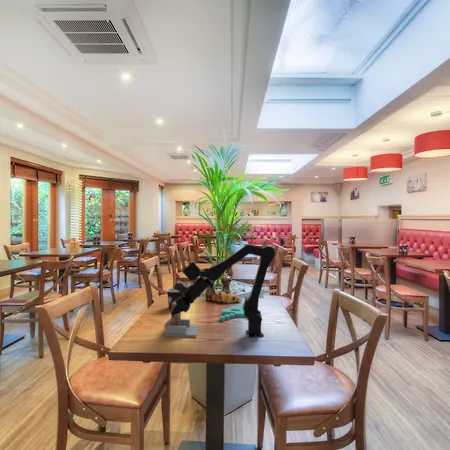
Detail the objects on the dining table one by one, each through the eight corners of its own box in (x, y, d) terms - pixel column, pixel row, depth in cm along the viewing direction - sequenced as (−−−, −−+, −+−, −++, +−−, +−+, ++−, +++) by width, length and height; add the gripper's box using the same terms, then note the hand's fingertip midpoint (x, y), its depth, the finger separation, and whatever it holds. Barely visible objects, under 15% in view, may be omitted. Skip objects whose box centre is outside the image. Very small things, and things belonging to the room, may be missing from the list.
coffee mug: (165, 306, 162) (165, 288, 161) (180, 304, 165) (180, 287, 165) (170, 312, 151) (170, 294, 151) (185, 310, 155) (186, 292, 154)
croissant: (242, 307, 174) (243, 294, 178) (240, 303, 165) (241, 290, 169) (208, 303, 179) (210, 291, 182) (205, 300, 170) (207, 286, 174)
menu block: (180, 325, 129) (180, 301, 128) (178, 329, 124) (178, 304, 123) (173, 325, 129) (174, 300, 129) (171, 329, 124) (171, 304, 124)
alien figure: (261, 324, 138) (260, 310, 158) (261, 319, 138) (260, 306, 158) (220, 321, 140) (224, 309, 160) (220, 317, 140) (224, 305, 160)
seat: (199, 327, 131) (200, 316, 131) (196, 337, 120) (196, 325, 120) (169, 326, 132) (169, 315, 132) (163, 336, 121) (163, 324, 121)
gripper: (189, 271, 135) (165, 293, 136) (180, 279, 116) (154, 305, 117) (205, 288, 135) (182, 310, 135) (199, 299, 116) (172, 325, 117)
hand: (173, 312), depth 126 cm, fingers closed on menu block, 5 cm apart
